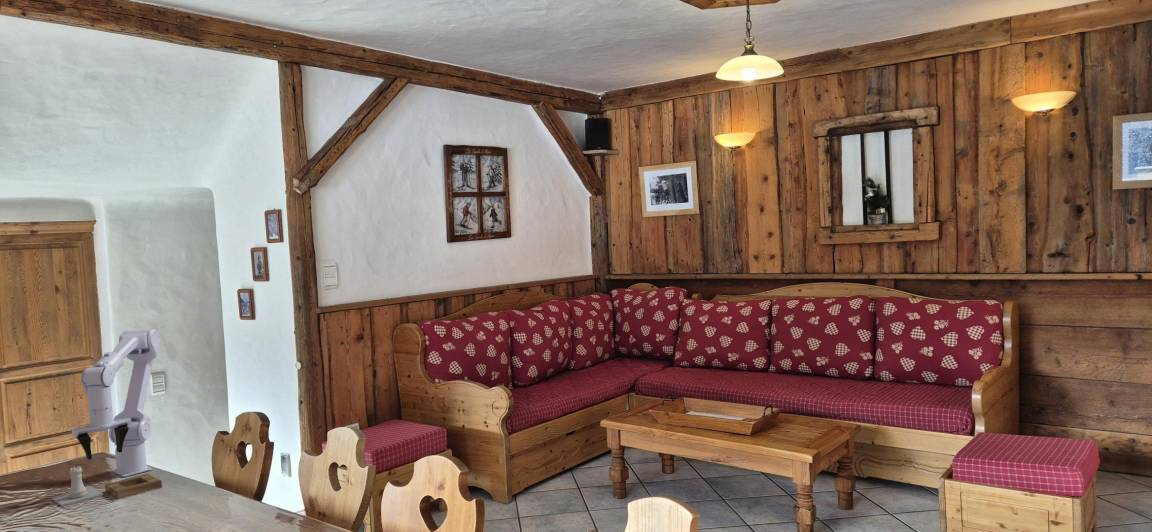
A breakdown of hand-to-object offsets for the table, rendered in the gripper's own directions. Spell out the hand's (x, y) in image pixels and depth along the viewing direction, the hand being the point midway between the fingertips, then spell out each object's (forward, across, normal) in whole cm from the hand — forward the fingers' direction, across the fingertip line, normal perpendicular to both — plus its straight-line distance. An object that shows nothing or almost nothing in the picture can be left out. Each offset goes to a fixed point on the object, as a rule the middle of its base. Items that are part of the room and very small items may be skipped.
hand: (104, 455), depth 217 cm
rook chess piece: (+9, -8, -3) cm, 12 cm away
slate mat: (+9, -8, -2) cm, 13 cm away
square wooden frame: (+9, +4, -9) cm, 14 cm away
